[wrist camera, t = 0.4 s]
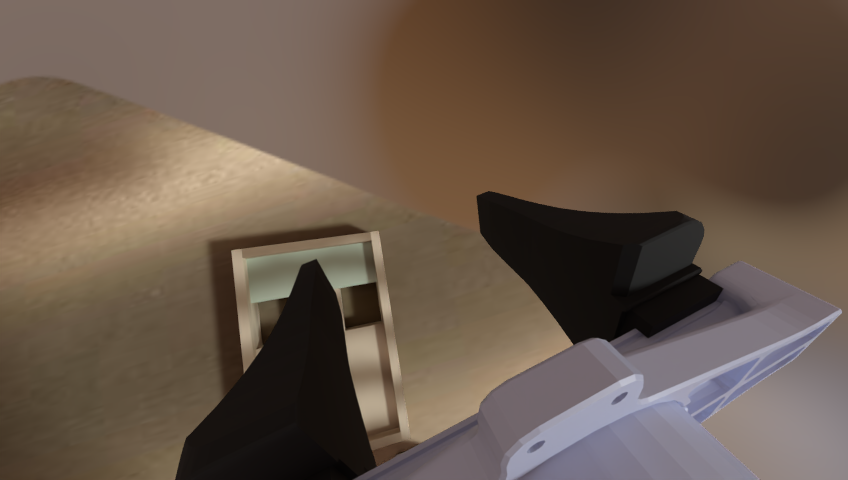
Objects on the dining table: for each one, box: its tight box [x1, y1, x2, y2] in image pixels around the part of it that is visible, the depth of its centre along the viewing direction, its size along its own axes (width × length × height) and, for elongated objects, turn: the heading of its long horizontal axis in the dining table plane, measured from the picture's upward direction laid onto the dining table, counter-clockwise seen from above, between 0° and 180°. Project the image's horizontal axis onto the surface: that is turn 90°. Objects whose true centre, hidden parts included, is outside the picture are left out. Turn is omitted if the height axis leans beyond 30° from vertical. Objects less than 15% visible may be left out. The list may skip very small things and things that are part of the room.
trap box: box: [231, 231, 411, 451], centre depth 35 cm, size 24×16×4 cm, turn 10°
